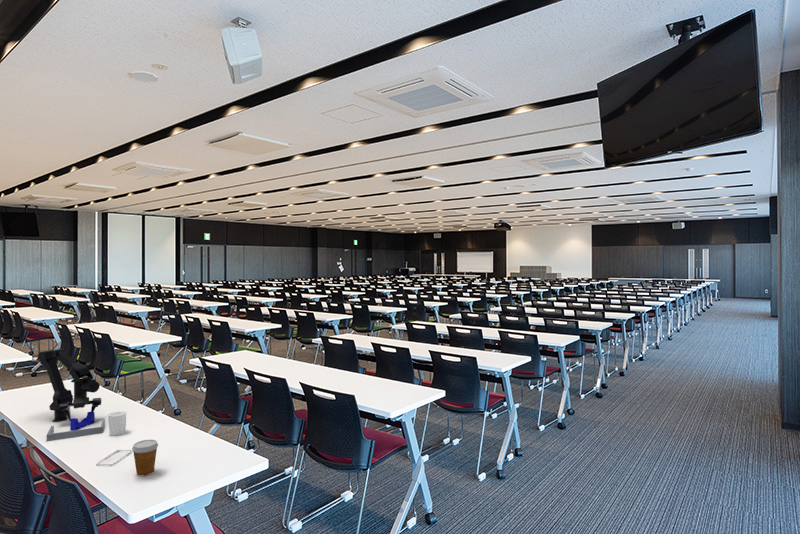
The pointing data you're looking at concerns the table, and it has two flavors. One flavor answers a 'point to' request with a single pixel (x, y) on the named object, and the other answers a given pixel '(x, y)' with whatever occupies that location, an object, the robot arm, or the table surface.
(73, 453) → the table surface
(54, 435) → the box
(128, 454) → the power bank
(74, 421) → the blue v notch block
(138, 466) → the disposable coffee cup
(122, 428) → the white cup
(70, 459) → the table surface
